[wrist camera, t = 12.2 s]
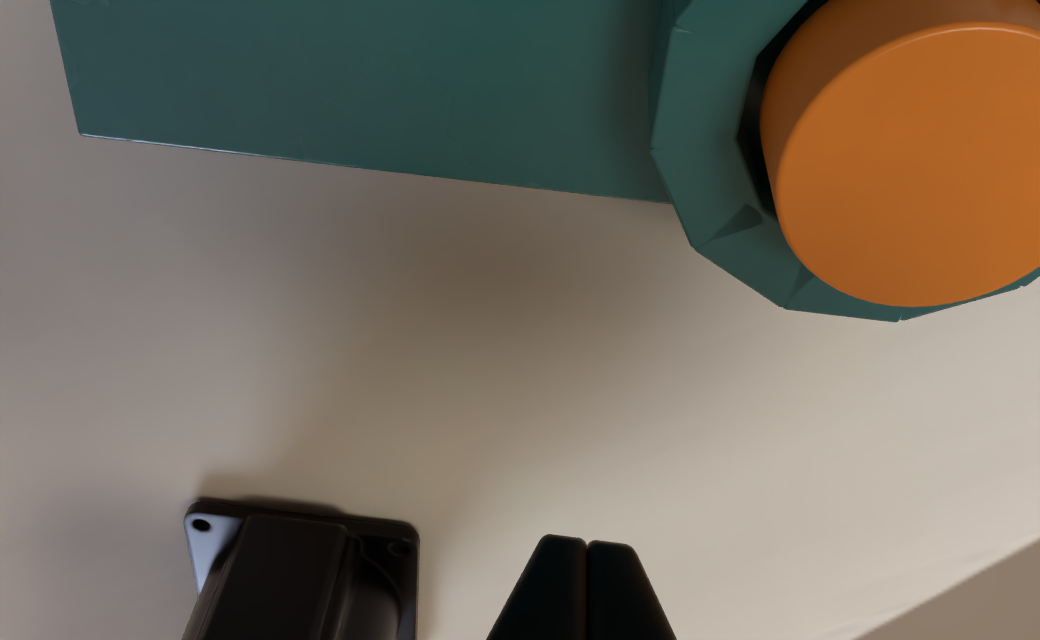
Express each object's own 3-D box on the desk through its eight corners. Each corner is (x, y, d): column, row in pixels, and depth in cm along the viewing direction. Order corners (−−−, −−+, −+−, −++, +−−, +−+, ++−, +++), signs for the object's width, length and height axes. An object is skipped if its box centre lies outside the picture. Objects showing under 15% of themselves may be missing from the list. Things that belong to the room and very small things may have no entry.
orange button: (995, 241, 15) (1039, 325, 13) (731, 210, 15) (744, 291, 13) (1115, -21, 12) (1186, 44, 11) (798, -56, 13) (823, 3, 11)
